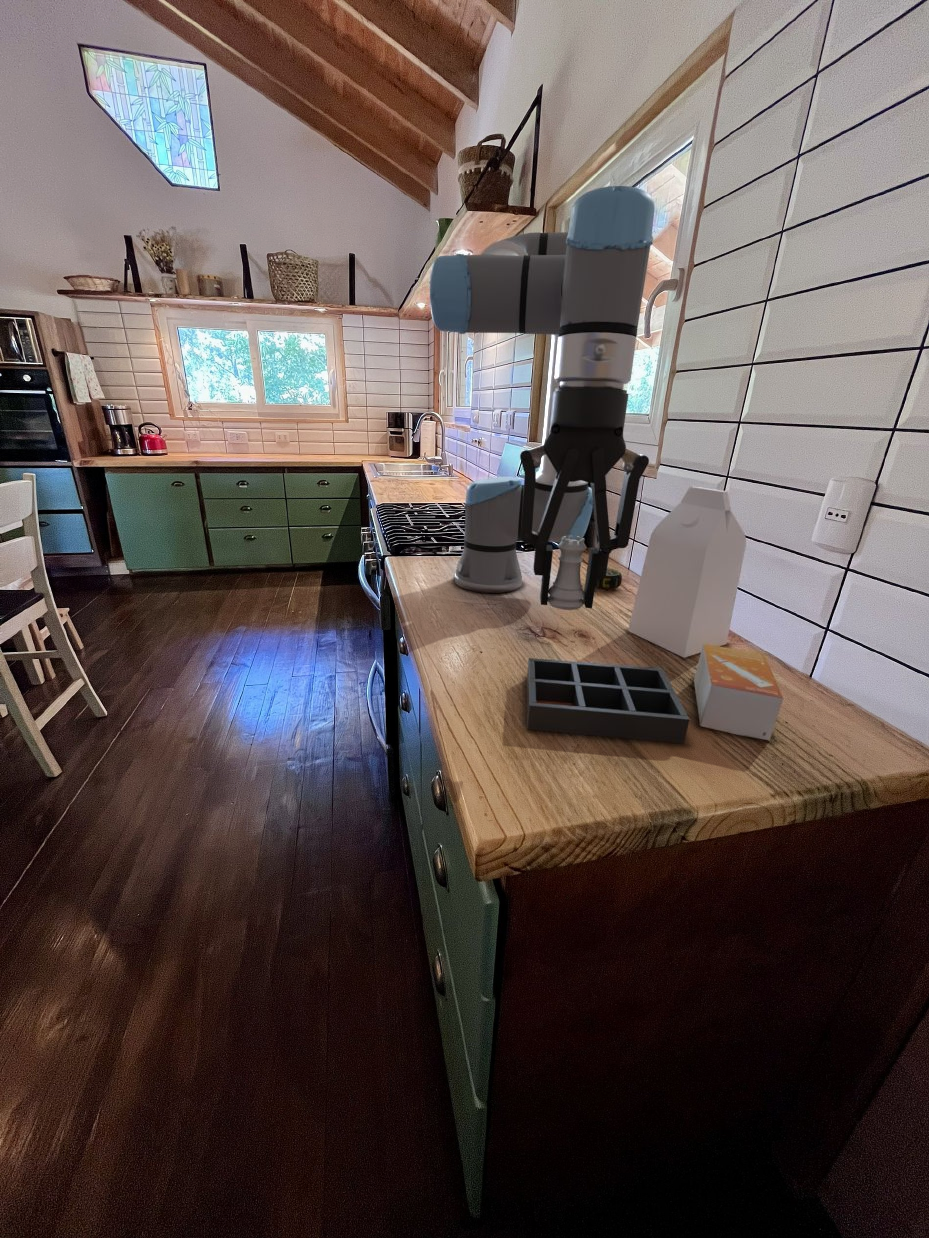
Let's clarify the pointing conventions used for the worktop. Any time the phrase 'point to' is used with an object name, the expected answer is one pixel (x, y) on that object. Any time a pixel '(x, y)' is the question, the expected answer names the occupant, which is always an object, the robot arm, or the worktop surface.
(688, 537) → the milk
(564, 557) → the rook chess piece
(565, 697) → the grid tray
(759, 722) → the small box
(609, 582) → the tape measure
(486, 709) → the worktop surface
